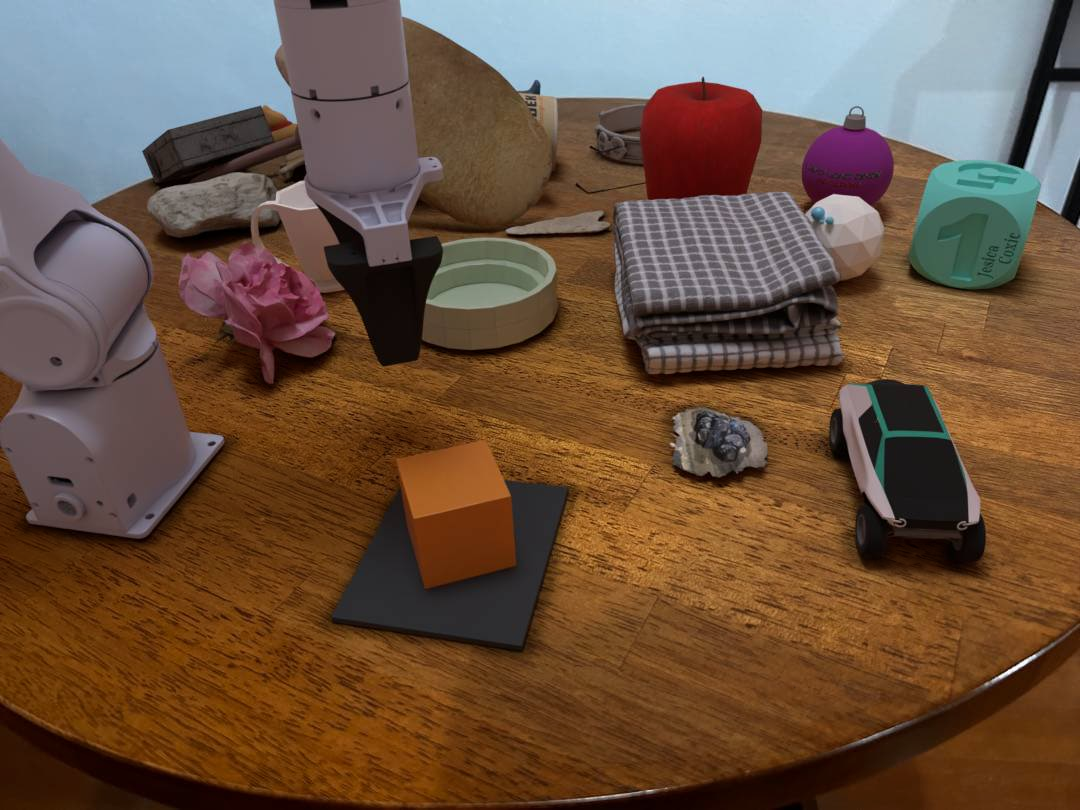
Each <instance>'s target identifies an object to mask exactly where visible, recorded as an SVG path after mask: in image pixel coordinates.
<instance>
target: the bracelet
mask: <svg viewBox="0 0 1080 810" xmlns="http://www.w3.org/2000/svg"><path fill="white" fill-rule="evenodd" d="M646 104H647V103H636V104H626V105H621V106H617V107H613V108H610V109H607V110H606V111H605V110H600V111H599V113H598V118H599V124H597V125H595V128H594V132H595V134H596V143H595V145H594V148H596V149H598V150H600V151H605V150H608V149H612V148H615V147H620V146H622V147H620V148H618V149H614V150H611V151H607V152H604V153H601V154H602V155H604V156H606V157H607V158H610V159H613V160H616V161H621V162H624V163H625V162H626V163H633V164H643V157H642V149H641V141H640V136H631V135H625V134H620V133H617V132H622V131H628V130H634V129H641V123H642V114H643V110H644V108H645V105H646ZM627 144H628V145H627ZM624 145H627V146H624Z"/></svg>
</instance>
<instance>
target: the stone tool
mask: <svg viewBox="0 0 1080 810" xmlns="http://www.w3.org/2000/svg"><path fill="white" fill-rule="evenodd" d="M604 215H605V212H604V211H603V210H601V209H600V210H595V211H585V212H581V213H579V214H576V215H571V216H558V217H554V218H552V219H546V220H545V219H544V220H541V221H536V222H533V223H528V224H525V225H516V226H513V227H509V228H507V229H506V230H505V233H507V234H510V235H519V236H521V235H534V234H536V235H537V234H544V235H545V234H556V233H557V234H576V233H580V234H592V233H599V232H602V231H605V230H607V229H609V227H611V225H612V223H611V222H608V221H599V219H600V218H601V217H602V216H604Z"/></svg>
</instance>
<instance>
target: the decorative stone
mask: <svg viewBox="0 0 1080 810" xmlns="http://www.w3.org/2000/svg"><path fill="white" fill-rule="evenodd" d="M278 191H279V190H278V189H277V188H276V185H275V184H274V182H273V180H272V179H271V178H270V177H269V176H266V175H265V174H263V173H256V172H242V171H241V172H234V173H230V174H226V175H223V176H220V177H216V178H213V179H211V180H207V181H204V182H198V183H192V184H190V183H187V184H178V185H173V186H169V187H168V186H167V187H165V188H161V189H159V190H157V191H156V192H155V193H154V194H153V195H151V196H150V197H149V199H148V201H147V203H146V206H147V207H146V209H147V213H148V215H149V217H150V218H151V219H152V220H153V221H154V222H155V223H157V224H158V225H159V226H160V228H161V229H163V231H164V232H165V234H166V235H167V236H170V237H174V238H175V237H176V238H186V237H192V236H197V235H199V234H202V233H207V232H212V231H223V230H226V231H230V230H234V229H238V230H239V229H240V230H245V229H248V228H251V217H252V215H253V213H254V212H255V210H256V208H257V207H258V206H259V205H260V204H262V203H264V202H267V201H276V192H278ZM280 221H282V220H281V218H280V215H279V213H278V211H275V210H270V209H262V211H261V213H260V214H259V216H258V229H263V228H271V227H276V226H278V225H279V224H280Z"/></svg>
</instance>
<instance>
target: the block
mask: <svg viewBox="0 0 1080 810" xmlns="http://www.w3.org/2000/svg"><path fill="white" fill-rule="evenodd" d="M395 462H396V467H397V474H398V481H399V487H400V486H401V492H402V498H403V504H404V510H405V516H406V522H407V527H408V531H409V535H410V538H411V542H412V545H413V549H414V552H415V556H416V560H417V563H418V567H419V570H420V574H421V577H422V581H423V584H424V588H425V589H428V588H432V587H436V586H440V585H444V584H447V583H451V582H455V581H459V580H463V579H467V578H471V577H475V576H479V575H483V574H487V573H490V572H494V571H498V570H502V569H506V568H510V567H514V566H516V556H515V542H514V529H513V516H512V502H511V495H510V492H509V490H508V488H507V486H506V483H505V481H504V480H505V479H504V476H503V475H502V472H501V470H500V468H499V465H498V463H497V461H496V459H495V456H494V454H493V451H492V450H491V448H490V445H489V443H488V441H487V439H482V440H478V441H473V442H467V443H462V444H460V445H454V446H450V447H445V448H441V449H437V450H432V451H427V452H422V453H418V454H413V455H409V456H404V457H400V458H396V459H395Z"/></svg>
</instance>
